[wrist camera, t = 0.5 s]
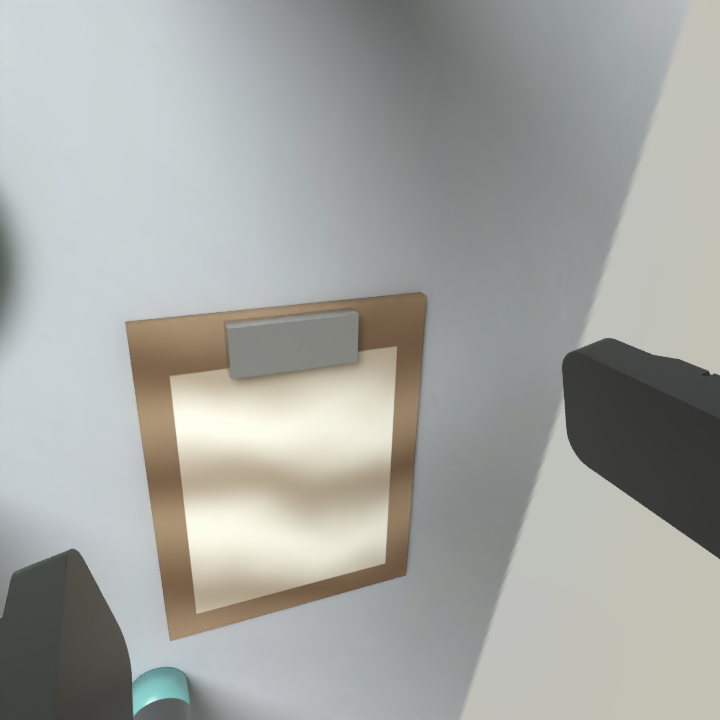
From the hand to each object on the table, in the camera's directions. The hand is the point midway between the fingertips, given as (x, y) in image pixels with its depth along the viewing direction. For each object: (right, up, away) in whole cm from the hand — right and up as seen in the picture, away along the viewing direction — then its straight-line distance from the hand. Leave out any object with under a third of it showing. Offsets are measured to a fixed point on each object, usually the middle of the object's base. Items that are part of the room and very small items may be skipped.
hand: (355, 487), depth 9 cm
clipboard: (-4, -4, +22) cm, 23 cm away
